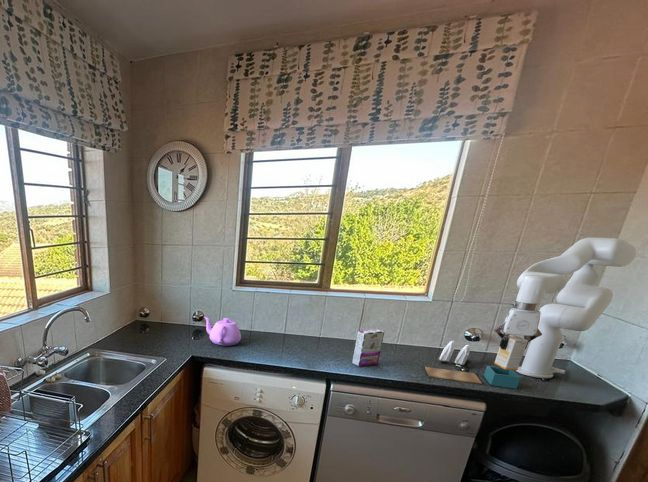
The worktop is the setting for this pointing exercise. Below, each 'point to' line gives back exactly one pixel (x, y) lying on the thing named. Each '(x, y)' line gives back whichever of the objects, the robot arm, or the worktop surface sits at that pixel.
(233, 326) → the teapot
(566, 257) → the robot arm
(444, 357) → the shaker set
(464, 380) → the cork mat
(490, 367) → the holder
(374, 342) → the candy bar box
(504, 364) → the supplement box
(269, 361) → the worktop surface
